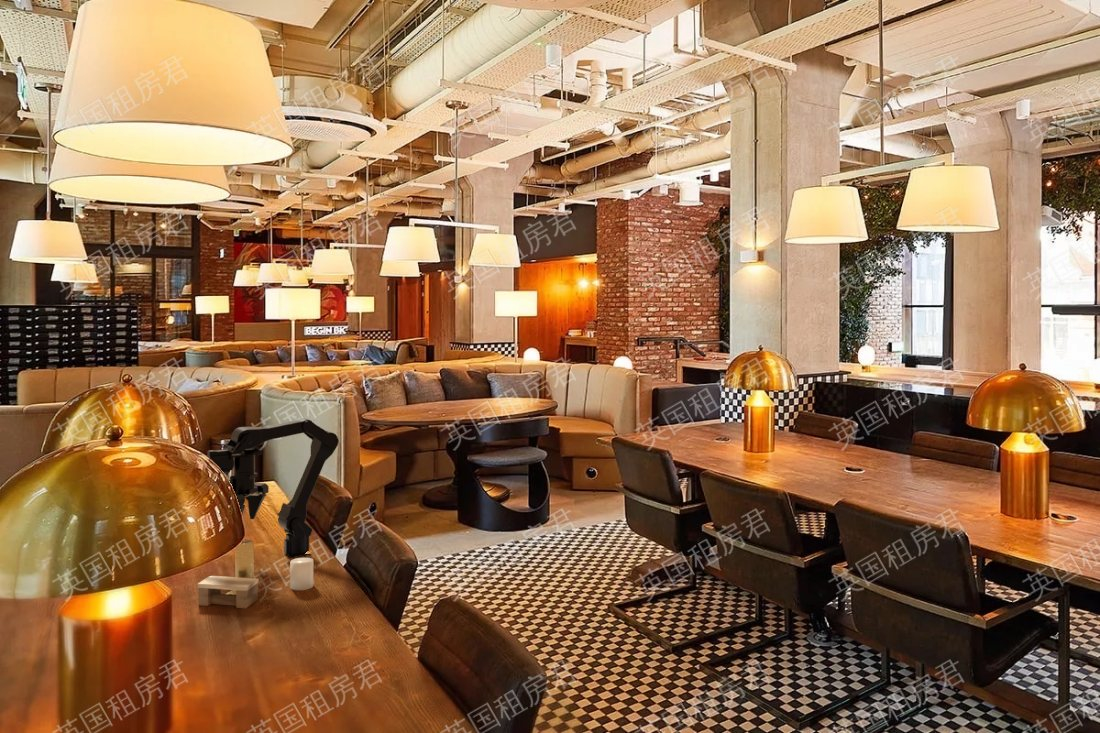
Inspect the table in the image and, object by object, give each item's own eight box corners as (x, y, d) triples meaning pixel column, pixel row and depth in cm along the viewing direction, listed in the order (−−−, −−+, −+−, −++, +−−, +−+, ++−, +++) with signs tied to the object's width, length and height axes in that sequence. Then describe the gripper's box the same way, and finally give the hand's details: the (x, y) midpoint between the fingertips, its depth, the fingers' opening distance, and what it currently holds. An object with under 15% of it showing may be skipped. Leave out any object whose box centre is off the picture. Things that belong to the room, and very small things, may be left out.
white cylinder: (309, 581, 208) (309, 556, 208) (316, 587, 203) (316, 562, 203) (287, 584, 205) (287, 559, 204) (293, 591, 200) (293, 566, 199)
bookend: (239, 586, 203) (239, 538, 202) (260, 587, 202) (260, 540, 201) (216, 601, 192) (216, 551, 191) (239, 603, 191) (239, 553, 190)
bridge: (210, 596, 195) (210, 575, 195) (258, 599, 194) (258, 578, 193) (197, 605, 189) (197, 583, 189) (246, 608, 188) (246, 586, 188)
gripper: (234, 463, 230) (234, 513, 231) (200, 476, 211) (200, 530, 212) (269, 465, 228) (269, 515, 229) (237, 477, 210) (238, 532, 211)
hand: (244, 523), depth 220 cm, fingers open, 9 cm apart
